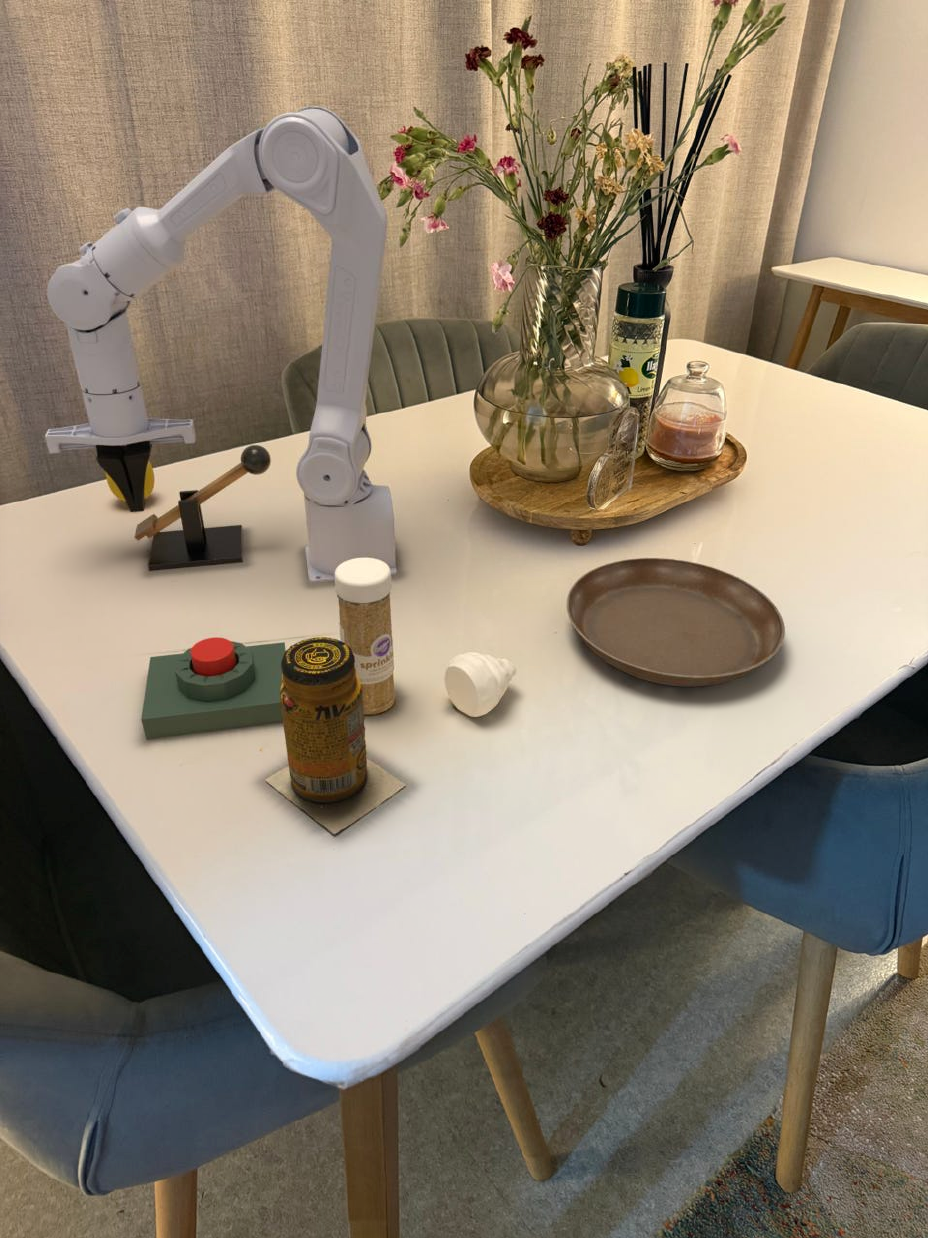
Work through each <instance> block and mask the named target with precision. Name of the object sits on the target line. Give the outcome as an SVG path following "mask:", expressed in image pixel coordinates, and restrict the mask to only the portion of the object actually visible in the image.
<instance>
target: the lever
mask: <svg viewBox="0 0 928 1238" xmlns="http://www.w3.org/2000/svg"><path fill="white" fill-rule="evenodd" d="M271 462H272V458H271V454H270V452H269V451H268V450H267V449H266V448H265V447H263V446H261V445H258V444H251V445H248V446H247V447H246V448H245V449H244V450H243V451H242V452H241V455H240V462H239V463H238V464H236V465H235V466H234V467H232V468H231V469H229V470H227V471H226V472H224V473H223V474H222V475H220V476H219V477H217V478H216V479H215V480H213V481H211V482H210V483H208V484H206V485H205V486H203V487H202V488H201V489H199V490H198V492H196V493H195V494H194V495H192V496H191V497H189V498H188V499H186V500H194V499H197V501H198V506H199V505H201V504H203V503H205V502H206V501H208V500H210V499H211V498H212V497H214V496H215V495H216V494H218V493H220V492H221V491H222V490H225V489H226V488H227V487H229V486H230V485H232V484H233V483H234V482H237V480H239V479H241V478H242V477H244V476H245V475H246V474H251V475H255V476H258V475H262V474H264V473H265V472H267V471H268V470H269V468H270V467H271ZM179 519H181V516H180V510H179V505H178V504H177V505H176V506H174V507H173V508H171V509H170V510H168V511H166V512H165V513H164V514H162V515H161V516H160V517H158V516H157V515H156V514H155V513H152V514H151V515H150V516H148V517H146V518H145V519H144V520H143V521H140V522H139V523H138V524H137V525H136V528H135V534H134V538H135V539H136V540H137V541H141V540H143V538H145V537H147V538H148V539H152V538H153V536H154V535H155V534H157V533H158V532H162V531H163V530H165V529H166V528H168V527H169V526H171V524H174V523H175V522H176V521H178V520H179Z"/></svg>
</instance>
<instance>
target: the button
mask: <svg viewBox="0 0 928 1238" xmlns="http://www.w3.org/2000/svg"><path fill="white" fill-rule="evenodd" d="M231 641H232V640H230V639H227V638H226V637H225V638H224V637H217V636H215V637H208V638H204V639H201V640H200V641H197V642H196V643H194V644H193V646H192V647H190V648H191V651H190V654H191V659H192V664H193V669H194V671H195V673H196V674H198V675H201V676H206V677H208V676H217V675H222V674H224V673H226V672H229V671H231V670H233V669H234V667H235V665H236V658H235V652H234V646H233V644H232V642H231Z"/></svg>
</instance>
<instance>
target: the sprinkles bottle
mask: <svg viewBox="0 0 928 1238" xmlns="http://www.w3.org/2000/svg"><path fill="white" fill-rule="evenodd" d="M392 582H393V581H392V575H391V570H390V568H389V566H388V565H387V564H386V563H385V562H383V561H381V560H378V559H374V558H355V559H351V560H348V561H345V562H343V563H342V564H340V565H339V566H338V567H337V568H336V570H335V581H334V589H335V590H334V591H335V593H336V597H337V598H338V599H337V601H338V612H339V613H338V615H339V624H338V625H339V638H340V641H342V642H344V643H345V644H347V645H348V646H349V647H350V648H351V650H352V652H353V655H354V657H355V663H354V664H355V668H356V675H357V677H358V678H359V680H360V683H361V686H362V697H363V709H364V711H363V714H364V715H377V714H380V713H382V712H386V711H387V710H389V709H390V708H391V707H392V706H393V705H394V703H395V701H396V698H397V697H396V696H397V694H396V690H395V681H394V670H395V660H394V657H395V656H394V640H393V630H392V629H393V628H392V626H393V625H392V624H393V623H392V612H391V611H392V610H391V597H390V596H391V593H392V588H393V586H392V585H393V583H392Z"/></svg>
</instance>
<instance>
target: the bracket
mask: <svg viewBox="0 0 928 1238" xmlns="http://www.w3.org/2000/svg"><path fill="white" fill-rule="evenodd" d="M198 491H199V490H198V489H195V490H194V489H193V490H181V491H179V493H178V494H179V499H180V500H178V501H177V505H179V510H180V516H181V518H180V521H181V526H182V529H177V530H167V531H160V532H158V533H157V534H155V535H154V536H152V540H151V547H150V553H149V559H148V564H147V567H148V572H154V571H155V572H157V571H166V570H175V569H186V568H198V567H208V566H209V567H210V566H217V565H218V566H221V565H229V564H240V563H241V564H242V563H243V562H244V557H243V556H244V555H243V554H244V553H243V551H244V548H243V545H244V544H243V542H244V541H243V525H242V524H235V525H225V526H223V525H222V526H212V527H205V523H204V517H203V510H202V505H201V504H200V505H199V506H198V501H197V499H194V500H186V499H188V498H189V497H191V496H192V495H194V494H195V493H196V492H198Z"/></svg>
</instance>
